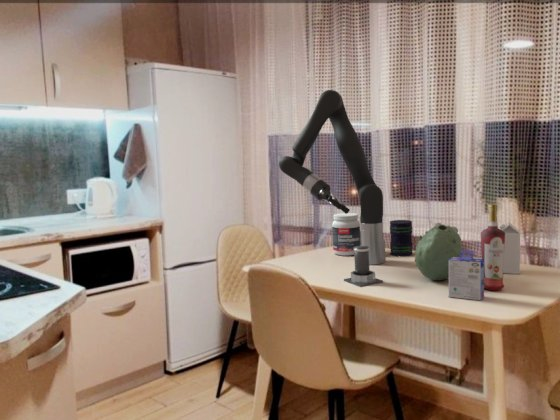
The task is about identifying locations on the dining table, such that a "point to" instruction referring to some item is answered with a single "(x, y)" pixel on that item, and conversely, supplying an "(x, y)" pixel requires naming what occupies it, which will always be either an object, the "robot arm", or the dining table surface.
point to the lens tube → (361, 260)
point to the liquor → (493, 252)
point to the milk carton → (511, 249)
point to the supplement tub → (345, 233)
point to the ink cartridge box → (466, 277)
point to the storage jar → (401, 238)
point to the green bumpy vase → (437, 251)
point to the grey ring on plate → (363, 279)
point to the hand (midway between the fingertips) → (344, 209)
